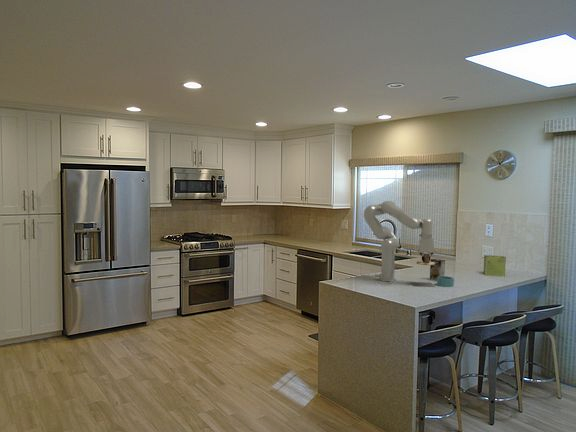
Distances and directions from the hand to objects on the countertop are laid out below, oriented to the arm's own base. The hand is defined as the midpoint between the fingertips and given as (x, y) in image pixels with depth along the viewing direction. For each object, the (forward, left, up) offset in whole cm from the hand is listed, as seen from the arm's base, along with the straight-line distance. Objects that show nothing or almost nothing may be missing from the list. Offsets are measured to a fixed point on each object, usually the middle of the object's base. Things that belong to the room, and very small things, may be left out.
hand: (426, 261), depth 314 cm
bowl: (+14, 0, -17) cm, 22 cm away
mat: (-2, 0, -17) cm, 18 cm away
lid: (0, 0, -2) cm, 2 cm away
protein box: (+67, +51, -18) cm, 86 cm away
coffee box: (+13, +19, -18) cm, 29 cm away
